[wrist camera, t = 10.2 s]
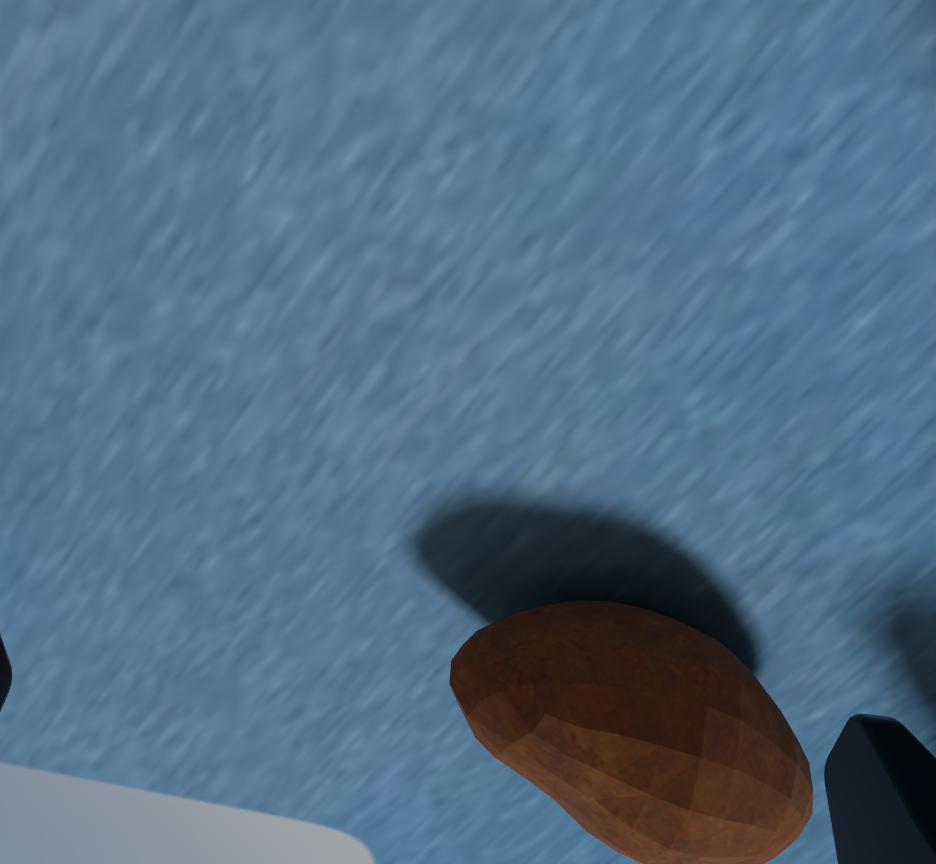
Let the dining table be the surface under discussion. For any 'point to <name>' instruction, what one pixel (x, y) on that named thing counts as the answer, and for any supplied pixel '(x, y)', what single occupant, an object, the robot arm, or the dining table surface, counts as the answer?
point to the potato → (638, 731)
